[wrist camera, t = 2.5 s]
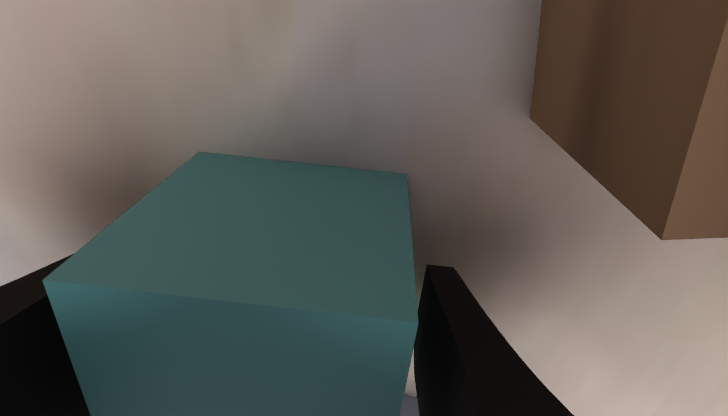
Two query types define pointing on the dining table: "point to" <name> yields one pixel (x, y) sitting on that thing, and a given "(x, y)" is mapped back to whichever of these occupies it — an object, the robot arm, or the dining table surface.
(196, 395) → the teal block
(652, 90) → the walnut block
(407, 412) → the slate-blue block
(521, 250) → the dining table surface
